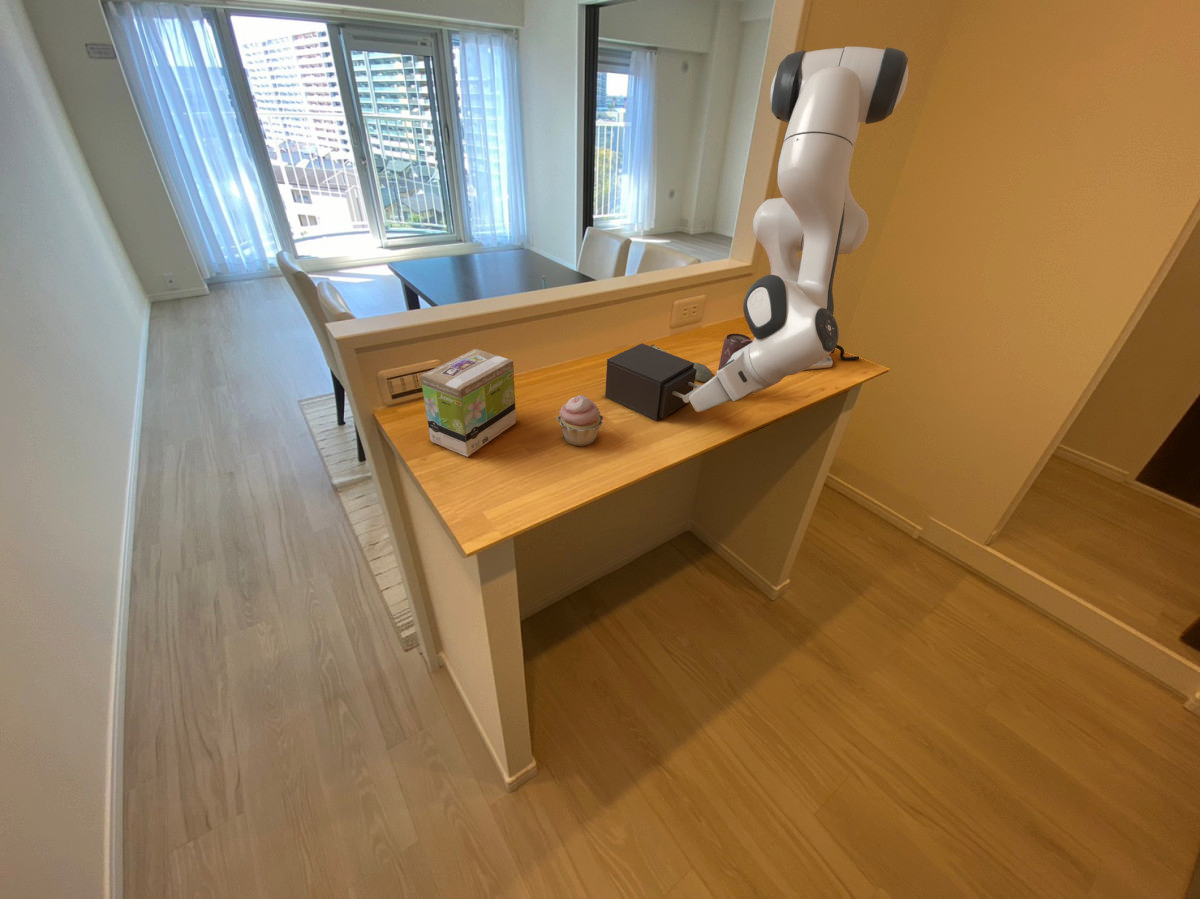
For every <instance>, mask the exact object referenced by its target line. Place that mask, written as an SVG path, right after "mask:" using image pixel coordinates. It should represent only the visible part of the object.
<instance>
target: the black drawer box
mask: <svg viewBox="0 0 1200 899" xmlns="http://www.w3.org/2000/svg"><path fill="white" fill-rule="evenodd" d="M661 350H662V349H661ZM661 350H658V349H656V348H653V347H650V345H647V344H645V343H639V344H637V345H635V346H632V347H631V348H629V349H626V350H624V351H621V352H620V353H617V354H615V355H613V356H611V357H609V358H607V359H606V373H605V374H606V376H605V393H604V394H605V395H604V398H606V399H608V400H610V401H612V402H615V403H616V404H619V405H621V406H623V407H625V408H627V409H629V410H631V411H633V412H636V413H638V414H640V415H642V416H644V417H646V418H648V419H650V420H653V421H655V422H658V421H659V420H660V419H661V418H660V417H658V416H659V408H660V400H661V393H662V385H663V383H665V382H667V381H668V380H670V379H672V378H674V377H675V376H677V375H679V374H681V373H682V372H684V371H687V370H689V369H691V368H693V367H694V363H695V362H693V361H690V360H687V359H685V358H682V357H679V356H677V355H674V354H672V353H670V352H668V353H666V352H667V351H665V350H663V351H661ZM664 351H665V352H664ZM669 353H670V354H669Z"/></svg>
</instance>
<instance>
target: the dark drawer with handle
mask: <svg viewBox="0 0 1200 899" xmlns="http://www.w3.org/2000/svg"><path fill="white" fill-rule="evenodd" d="M696 371H697V369H695V368H691V369H689V370H687V371H684V372H682V373H681V374H679V375H677V376H675V377H674V378H672V379H670V380H668V381H667V382H665V383H663V385H662V393H661V400H660V408H659V416H658V417H660V419H664V418H666V417H667V416H669V415H671V414H673V413H674V412H676V411H677V410H679V409H680V408H681V407H683V406H684V405H686V404H688V403H690V401H689V396H690V395H691V394H692V393H693V392H694V391H696V390H697V389H698V388H700V387H701V386H702V385H704V384H700V385H699V384H696V382H695V381H696V379H695V377H696Z"/></svg>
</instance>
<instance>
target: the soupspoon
mask: <svg viewBox="0 0 1200 899" xmlns="http://www.w3.org/2000/svg"><path fill="white" fill-rule="evenodd" d="M649 346H650V347H653V348H656V349H658V350H661V351H664V352H666V353H669V354H671V353H670V352H668V351H665V350H663V349H661V348H660V347H657V346H655V344H650V345H649ZM693 363H694V367H693V368H695V369H697V371H696V377H695V381H697V382H702V383H706V382H708V381H709V380H710V379H712V378H713V377H714V376H713V373H712V371H711V369H710V368H708V366H706V365H705V364H702V363H699V362H693Z"/></svg>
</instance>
